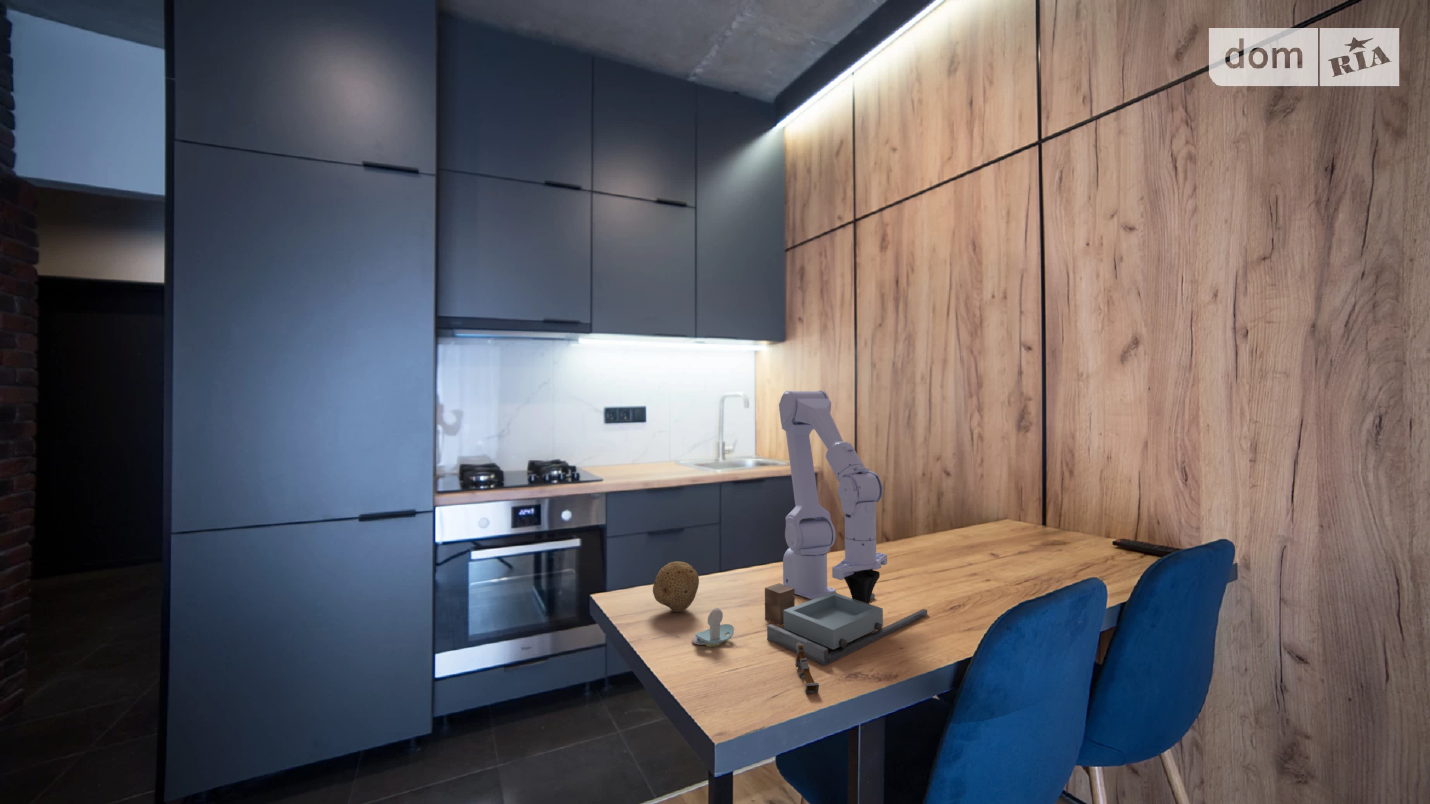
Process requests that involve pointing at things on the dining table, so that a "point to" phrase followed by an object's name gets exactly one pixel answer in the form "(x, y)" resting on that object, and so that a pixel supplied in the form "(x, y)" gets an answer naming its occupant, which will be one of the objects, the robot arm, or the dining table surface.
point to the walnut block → (778, 602)
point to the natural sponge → (676, 585)
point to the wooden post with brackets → (805, 670)
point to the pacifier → (714, 630)
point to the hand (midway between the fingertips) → (861, 609)
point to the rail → (821, 653)
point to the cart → (833, 619)
